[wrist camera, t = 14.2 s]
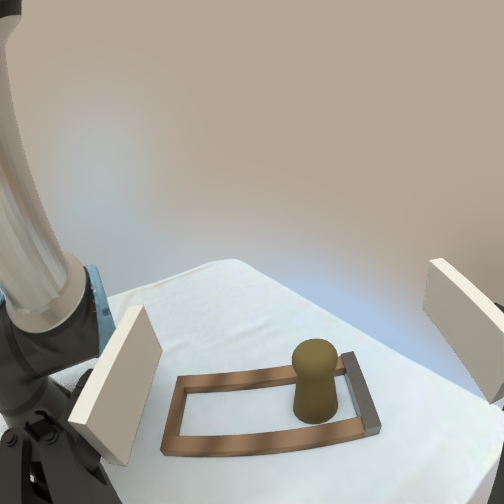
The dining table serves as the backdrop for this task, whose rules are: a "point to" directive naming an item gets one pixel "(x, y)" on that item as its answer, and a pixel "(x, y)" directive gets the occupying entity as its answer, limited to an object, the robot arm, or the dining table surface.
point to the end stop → (360, 394)
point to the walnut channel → (249, 442)
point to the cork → (315, 381)
